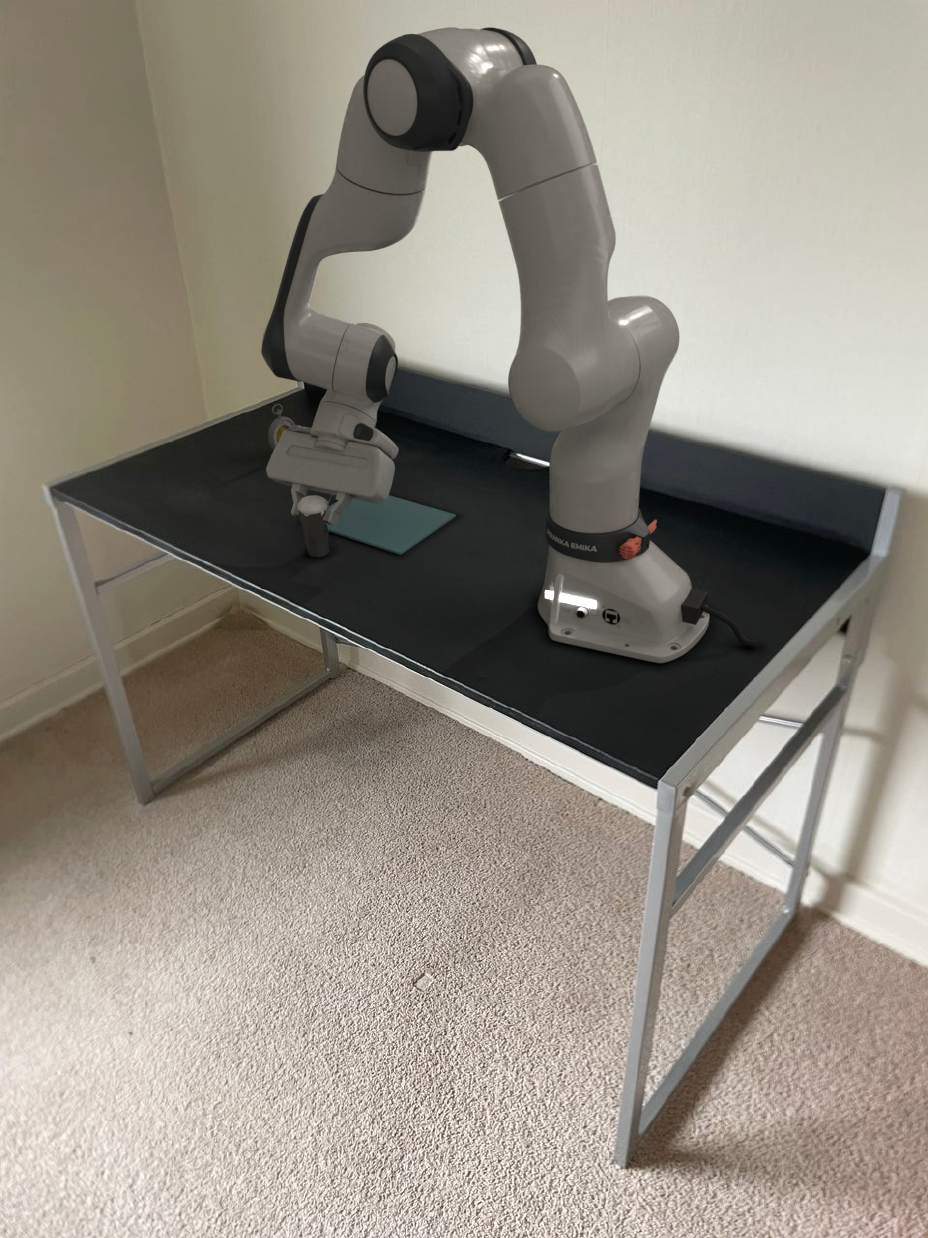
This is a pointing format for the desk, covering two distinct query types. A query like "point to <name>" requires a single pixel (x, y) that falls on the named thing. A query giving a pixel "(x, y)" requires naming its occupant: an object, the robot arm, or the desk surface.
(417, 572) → the desk surface
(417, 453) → the desk surface
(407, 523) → the mouse pad
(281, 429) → the pocket watch
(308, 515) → the milkshake
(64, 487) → the desk surface
